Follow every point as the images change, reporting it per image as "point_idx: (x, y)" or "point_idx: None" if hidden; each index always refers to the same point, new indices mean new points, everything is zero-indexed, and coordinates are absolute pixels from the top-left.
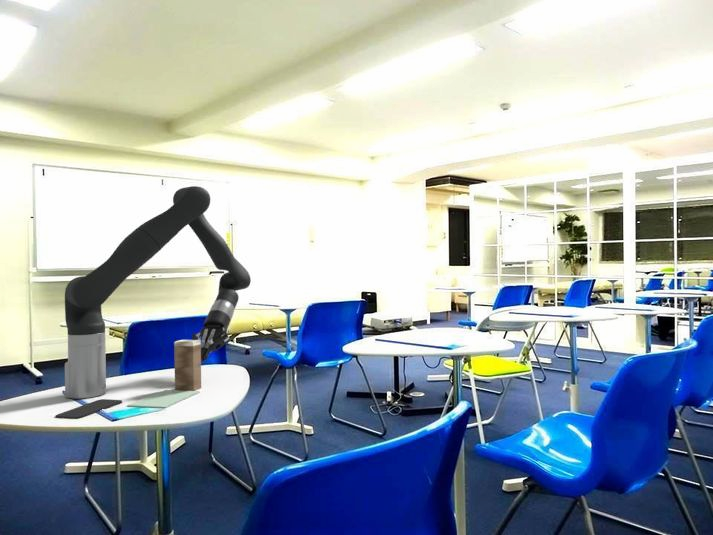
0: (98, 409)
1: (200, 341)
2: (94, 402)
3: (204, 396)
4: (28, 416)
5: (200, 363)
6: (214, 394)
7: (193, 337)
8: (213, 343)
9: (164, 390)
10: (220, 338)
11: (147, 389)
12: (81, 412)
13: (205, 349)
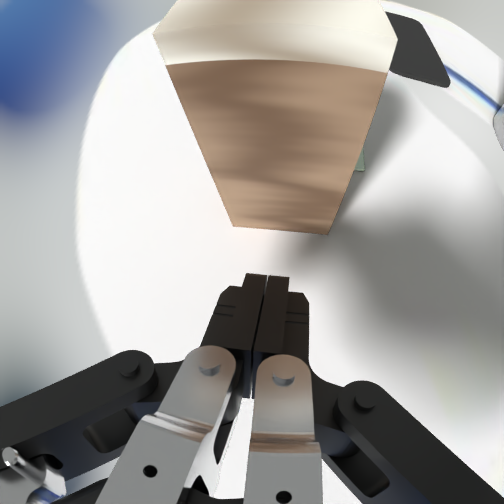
0: None
1: (158, 43)
2: (437, 66)
3: (176, 121)
4: (459, 36)
5: (209, 162)
6: (150, 144)
7: (480, 494)
8: (118, 385)
9: (361, 162)
10: (26, 423)
11: (444, 199)
12: (393, 23)
13: (225, 339)
